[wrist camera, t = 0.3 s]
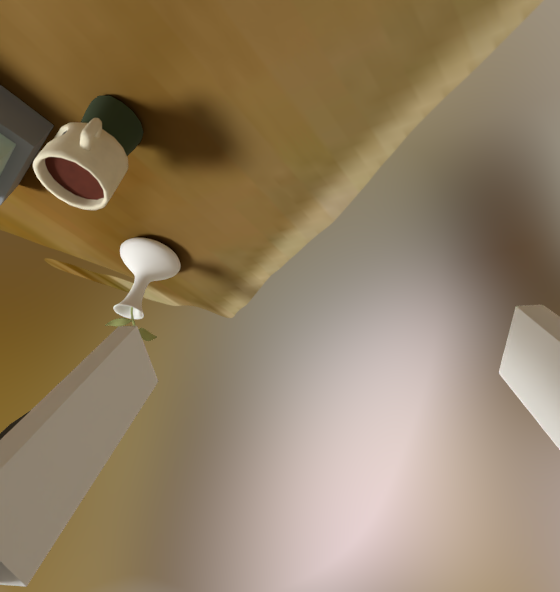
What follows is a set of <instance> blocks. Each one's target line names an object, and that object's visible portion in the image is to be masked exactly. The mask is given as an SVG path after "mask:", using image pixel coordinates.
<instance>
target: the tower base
mask: <svg viewBox="0 0 560 592" xmlns="http://www.w3.org/2000/svg"><path fill="white" fill-rule="evenodd" d="M53 126H54V125H53V124H52V123H50V122H49V121H48V120H46V119H45V118H44V117H42V116H41V115H40V114H38V113H37V112H36V111H34V110H33V109H32V108H30V107H29V106H28V105H27V104H25V103H24V102H23V101H21V100H20V99H19V98H17V97H16V96H15V95H13V94H12V93H11V92H9V91H8V90H7V89H5V88H4V87H3V86H1V85H0V205H1V204H2V203H3V202H4V201H5V200H6V198H7V197H8V196H9V195H10V194H11V193H12V192H13V190H14V189H15V188H16V187H17V186H18V185H19V183H20V181H21V180H22V178H23V176H24V175H25V173H26V171H27V170H28V168H29V166H30V165H31V163H32V161H33V160H34V158H35V156H36V155H37V153H38V151H39V150H40V148H41V146H42V145H43V143H44V141H45V140H46V138H47V136H48V135H49V133H50V131H51V130H52V128H53Z"/></svg>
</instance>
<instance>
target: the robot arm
mask: <svg viewBox="0 0 560 592" xmlns="http://www.w3.org/2000/svg"><path fill="white" fill-rule="evenodd" d="M499 374H500V375H501V377H502V378H503V379H504V380H505V382H506V383H507V384H508V385H509V387H510V388H511V389H512V390H513V392H514V393H515V394H516V396H517V397H518V398H519V399H520V401H521V402H522V403H523V404H524V406H525V407H526V408H527V409H528V410H529V412H530V413H531V414H532V415H533V417H534V418H535V419H536V421H537V422H538V423H539V424H540V426H541V427H542V428H543V429H544V431H545V432H546V433H547V434H548V436H549V437H550V438H551V440H552V441H553V442H554V443H555V444H556V446H557V447H558V448H559V450H560V317H559V316H557V315H556V314H554V313H553V312H552V311H550V310H549V309H548V308H546V307H545V306H544V305H528V306H516V308H515V312H514V315H513V319H512V323H511V327H510V331H509V335H508V339H507V343H506V347H505V350H504V355H503V358H502V362H501V366H500V370H499ZM157 382H158V379H157V377H156V374H155V371H154V369H153V366H152V364H151V361H150V358H149V356H148V353H147V351H146V348H145V345H144V343H143V340H142V338H141V335H140V332H139V330H138V327H137V326H120V327H118V328H117V329H115V330H114V331H113V332H112V333H111V334H110V335H109V336H108V337H107V338H106V339H105V340H104V341H103V342H102V343H101V344H100V345H99V346H98V347H97V348H96V349H95V350H94V351H92V352H91V353H90V354H89V355H88V356H87V357H86V358H85V359H84V360H83V361H82V362H81V363H80V364H79V365H78V366H77V367H76V368H75V369H74V370H73V371H72V372H71V373H70V374H68V375H67V376H66V377H65V378H64V379H63V380H62V381H61V382H60V383H59V384H58V385H57V386H56V387H55V388H54V389H53V390H52V391H51V392H50V393H49V394H48V395H47V396H46V397H44V398H43V399H42V400H41V401H40V402H39V403H38V404H37V405H36V406H35V407H34V408H33V409H32V410H31V411H29V412H28V413H26V414H25V415H23V416H22V417H20V418H19V419H18V420H16V421H15V422H13V423H12V424H10V425H9V426H8V427H7V428H6V429H5V430H4V431H3V432H1V434H0V584H2V585H14V586H27V585H28V583H29V582H30V580H31V579H32V577H33V576H34V574H35V572H36V571H37V569H38V568H39V566H40V565H41V563H42V562H43V560H44V558H45V557H46V555H47V553H48V552H49V551H50V549H51V547H52V546H53V544H54V543H55V541H56V540H57V538H58V537H59V535H60V534H61V532H62V530H63V529H64V527H65V526H66V524H67V523H68V521H69V520H70V518H71V516H72V515H73V513H74V511H75V510H76V508H77V507H78V505H79V504H80V502H81V501H82V499H83V498H84V496H85V495H86V493H87V491H88V490H89V488H90V487H91V485H92V484H93V482H94V481H95V479H96V477H97V476H98V474H99V473H100V471H101V470H102V468H103V467H104V465H105V463H106V462H107V460H108V459H109V457H110V455H111V454H112V453H113V451H114V449H115V448H116V446H117V445H118V443H119V442H120V440H121V439H122V437H123V435H124V434H125V432H126V431H127V429H128V428H129V426H130V425H131V423H132V421H133V420H134V418H135V417H136V415H137V413H138V412H139V410H140V409H141V407H142V406H143V404H144V403H145V401H146V400H147V398H148V396H149V395H150V393H151V392H152V390H153V389H154V387H155V386H156V384H157Z"/></svg>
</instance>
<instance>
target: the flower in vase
mask: <svg viewBox="0 0 560 592" xmlns="http://www.w3.org/2000/svg"><path fill="white" fill-rule="evenodd" d="M120 255H121V258H122V260H123V261H124V263H125V265H126V266H127V267H128V268H129V269H130V270H131V271H132V272H133V274H134V275H135V281H134V284H133V286H132V288H131V290H130V292H129V294H128V295H127V297H126V298H125V299H124V300H123V301H122V302H120V303H119V304H117V305H115V306H114V310H115V312H116V313H118V314H119V315H122V316H124V317H127V318H131V319H132V322H133V326H135V322H134V319H141V318H143V317H144V314H143V311H142V299H143V295H144V292H145V289H146V287H147V285H148V284H149V283H150V282H151V281H157V280H164V279H168V278H171V277H173V276H175V275H176V274H177V273H178V272H179V270H180V268H181V264H180V261H179V258H178V257H177V255H176V254H175V253H174V252H173V251H172V250H171V249H170V248H169V247H167V246H166V245H164V244H162V243H160V242H158V241H155V240H152V239H148V238H131V239H129V240H126V241H125V242H123V243H122V245H121V247H120ZM130 322H131V320H130V319H126V318H119V319H115V320H113V321H110V322H109V323H107V324H106V325H112V326H123V325H126V324H128V323H130ZM138 330H139V332H140V335H141V338H143V339H144V340H146V341H150V340H153V339H155V338H156V336H154V335H153V334H151V333H150V332H148V331H147V330H145V329H144V328H140V329H138Z"/></svg>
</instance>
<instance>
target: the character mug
mask: <svg viewBox="0 0 560 592" xmlns="http://www.w3.org/2000/svg"><path fill="white" fill-rule="evenodd" d="M142 136H143V129H142V125H141V122H140V121H139V119H138V118H137V116H136V115H135V114H134V112H133V111H132V110H131V109H129V108H128V107H127V106H126V105H125V104H124V103H122V102H121V101H119V100H117V99H115V98H113V97H111V96H98V97H97V98H95V99H94V100H93V101H92V102H91V103H90V105H89V107H88V108H87V110H86V112H85V114H84V116H83V119H82V121H81V122H70V123H68V124H66V125H64V126H62V127H61V128H60V130H59V132H58V133H57V135H56V136H55V138H54V139H53V140H52V141H50V142H48V143H47V144H46V146H45V147H44V148H43V149H42V151H41V152H40V153H39V154H38V155H37V157H36V158H35V159H34V161H33V169H34V172H35V174H36V176H37V178H38V179H39V181H40V182H41V183H42V184H43V185H44V187H45V188H46V189H47V190H49V191H50V192H51V193H52V194H53V195H55V196H56V197H57V198H59V199H61V200H62V201H64V202H66V203H67V204H69V205H71V206H74V207H77V208H80V209H84V210H98V209H101V208H104V207H105V205H106V204H107V203H108V201H109V200H110V198H111V197H112V195H113V193H114V192H115V190H116V188H117V187H118V185H119V183H120V182H121V180H122V178H123V177H124V175H125V173H126V172H127V170H128V157H127V156H128V155H129V154H130V153H131V152H132V151H133V150H134V149H135V148H136V146H137V145H138V144H139V143H140V142H141V139H142Z"/></svg>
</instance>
